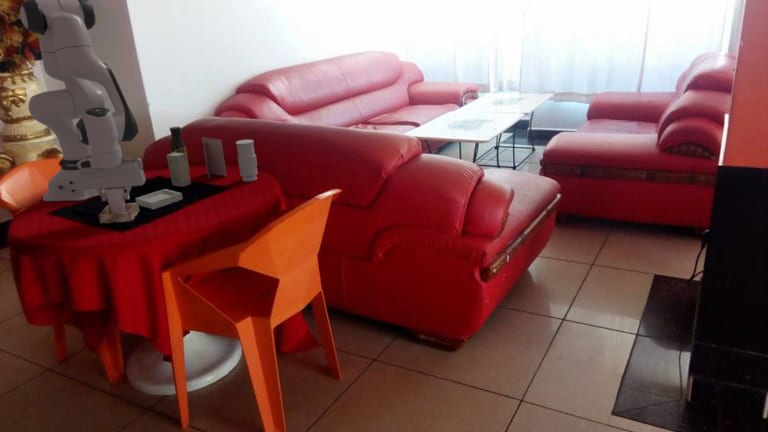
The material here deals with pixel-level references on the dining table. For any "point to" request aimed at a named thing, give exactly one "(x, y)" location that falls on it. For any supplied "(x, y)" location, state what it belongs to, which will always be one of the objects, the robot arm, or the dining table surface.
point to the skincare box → (178, 169)
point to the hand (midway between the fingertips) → (116, 199)
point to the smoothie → (116, 199)
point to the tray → (159, 199)
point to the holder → (119, 214)
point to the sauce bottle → (177, 142)
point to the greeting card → (214, 156)
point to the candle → (247, 160)
